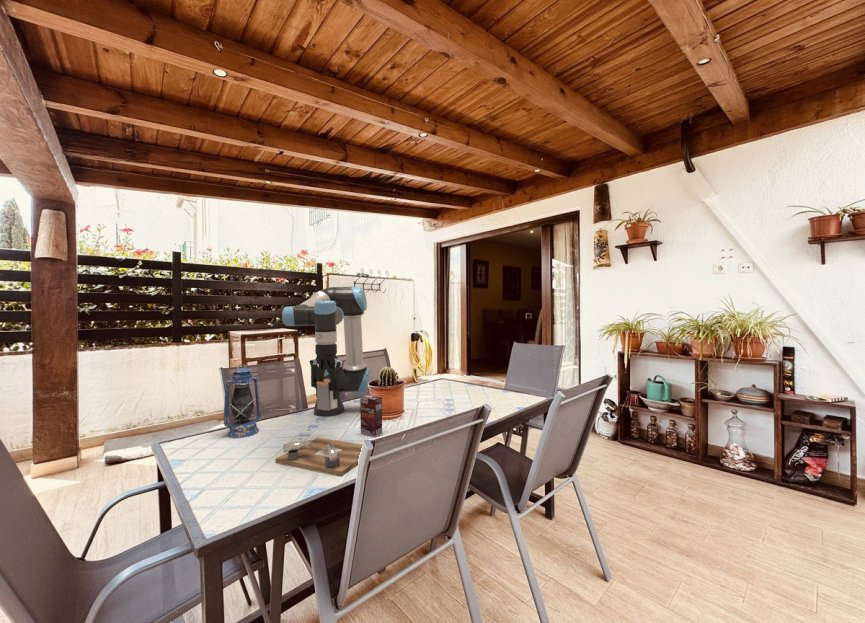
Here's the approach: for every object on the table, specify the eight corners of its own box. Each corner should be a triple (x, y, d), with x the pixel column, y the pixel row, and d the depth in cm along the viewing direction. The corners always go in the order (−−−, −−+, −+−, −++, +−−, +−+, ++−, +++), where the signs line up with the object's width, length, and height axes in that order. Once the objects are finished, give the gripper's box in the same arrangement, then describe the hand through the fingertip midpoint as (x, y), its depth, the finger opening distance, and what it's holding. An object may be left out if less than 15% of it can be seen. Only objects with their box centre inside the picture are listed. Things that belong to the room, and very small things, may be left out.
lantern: (230, 441, 152) (228, 368, 151) (218, 434, 160) (216, 365, 159) (267, 431, 164) (265, 363, 163) (255, 425, 172) (253, 360, 171)
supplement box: (360, 434, 159) (359, 397, 159) (367, 430, 163) (367, 394, 163) (375, 437, 154) (374, 399, 154) (383, 434, 158) (382, 396, 158)
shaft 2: (323, 459, 129) (323, 444, 129) (336, 457, 131) (336, 442, 131) (326, 470, 121) (326, 454, 121) (340, 468, 122) (340, 451, 122)
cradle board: (317, 441, 151) (317, 436, 151) (377, 450, 140) (377, 446, 140) (275, 462, 131) (275, 457, 131) (341, 476, 120) (341, 470, 120)
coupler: (326, 405, 139) (325, 378, 138) (337, 406, 137) (337, 379, 136) (317, 409, 134) (316, 381, 134) (328, 410, 132) (328, 382, 132)
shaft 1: (310, 453, 135) (310, 438, 135) (311, 457, 131) (311, 442, 131) (283, 457, 132) (283, 442, 132) (283, 462, 128) (283, 446, 128)
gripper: (299, 343, 135) (300, 407, 135) (340, 345, 128) (341, 412, 128) (313, 341, 142) (314, 402, 142) (353, 343, 135) (354, 407, 135)
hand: (327, 407), depth 135 cm, fingers closed on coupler, 5 cm apart
